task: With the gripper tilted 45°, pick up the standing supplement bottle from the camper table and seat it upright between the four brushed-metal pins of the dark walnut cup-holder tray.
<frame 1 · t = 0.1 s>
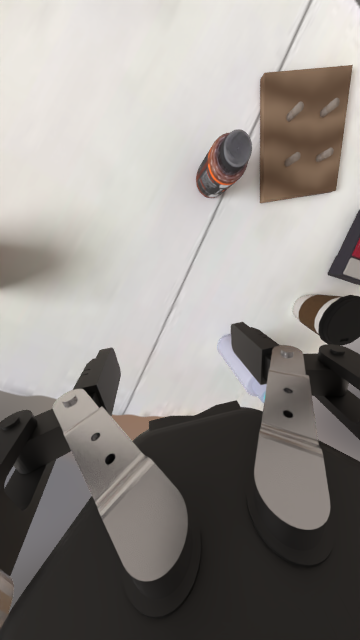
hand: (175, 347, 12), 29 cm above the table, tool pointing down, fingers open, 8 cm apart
spray bottle: (227, 344, 48), on the table
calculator: (357, 249, 45), on the table
coffee cup: (302, 306, 48), on the table
supplement bottle: (210, 181, 35), on the table
pin tray: (299, 142, 34), on the table
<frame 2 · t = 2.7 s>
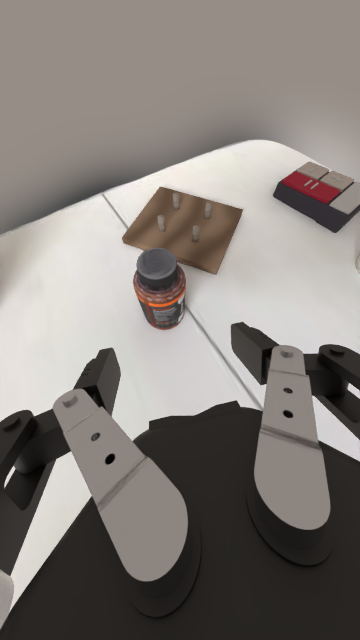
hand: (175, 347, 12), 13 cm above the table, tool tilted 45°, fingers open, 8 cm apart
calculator: (314, 204, 39), on the table
supplement bottle: (164, 313, 28), on the table
pin tray: (185, 228, 35), on the table
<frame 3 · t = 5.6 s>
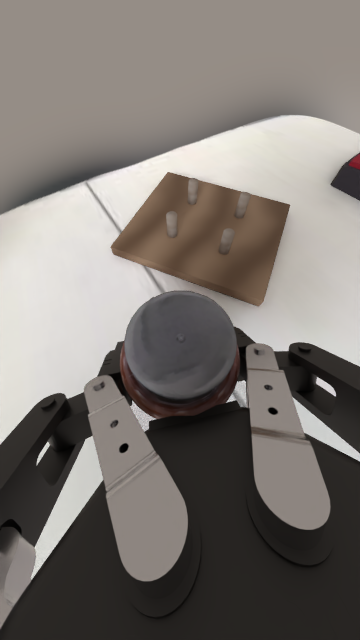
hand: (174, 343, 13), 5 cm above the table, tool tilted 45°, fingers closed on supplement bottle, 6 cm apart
supplement bottle: (179, 376, 17), on the table, touching gripper
pin tray: (205, 232, 24), on the table
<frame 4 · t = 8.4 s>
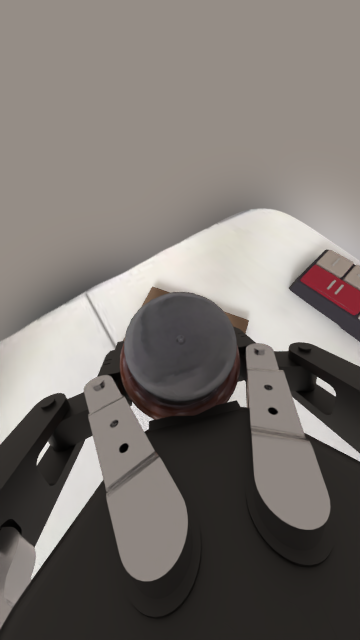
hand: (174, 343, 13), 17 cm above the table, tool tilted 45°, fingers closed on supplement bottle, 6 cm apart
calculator: (335, 298, 35), on the table
supplement bottle: (179, 377, 17), point 12 cm above the table, touching gripper
pin tray: (182, 345, 30), on the table
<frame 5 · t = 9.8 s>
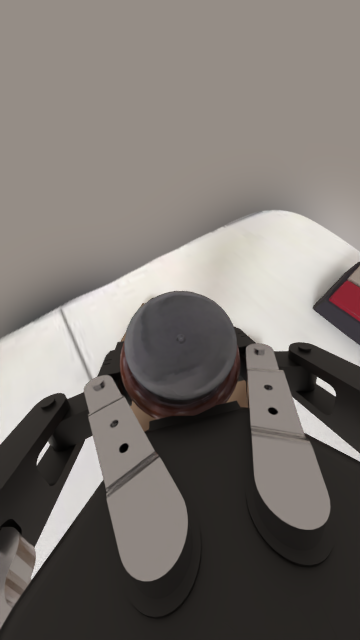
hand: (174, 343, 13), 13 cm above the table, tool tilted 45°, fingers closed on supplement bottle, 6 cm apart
supplement bottle: (179, 376, 17), point 8 cm above the table, touching gripper
pin tray: (176, 381, 24), on the table
when the fingers open (7 cm above the table, at t = 11.2 s): supplement bottle stays where it is, resting on pin tray.
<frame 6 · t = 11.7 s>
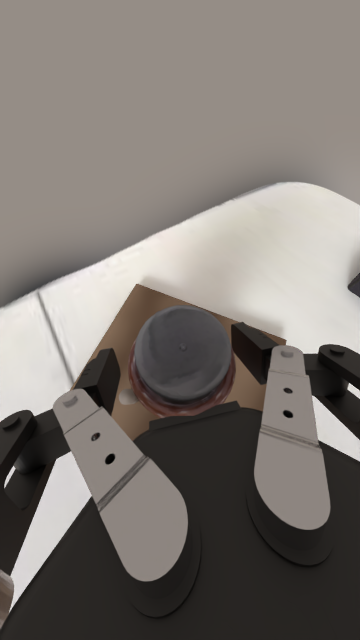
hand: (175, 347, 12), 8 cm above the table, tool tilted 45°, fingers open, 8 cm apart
supplement bottle: (180, 379, 18), point 1 cm above the table, touching pin tray
pin tray: (178, 378, 19), on the table
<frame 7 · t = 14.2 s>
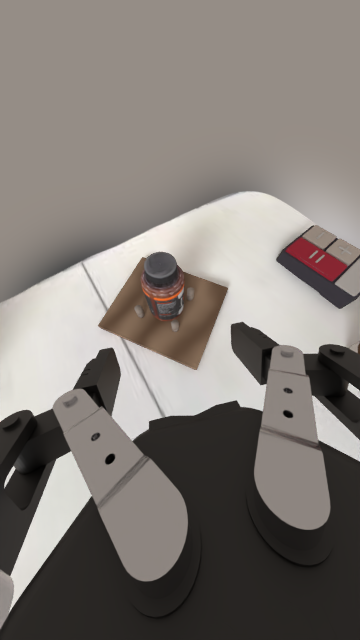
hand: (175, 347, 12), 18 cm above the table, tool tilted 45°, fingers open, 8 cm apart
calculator: (319, 270, 38), on the table
supplement bottle: (166, 307, 32), point 1 cm above the table, touching pin tray
pin tray: (166, 308, 33), on the table
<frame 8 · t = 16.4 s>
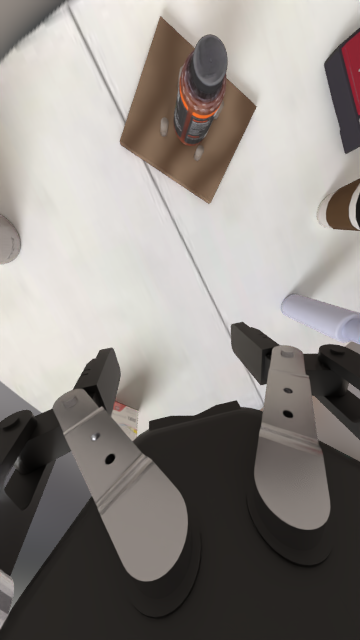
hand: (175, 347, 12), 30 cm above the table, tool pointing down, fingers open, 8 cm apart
ink cartridge box: (121, 410, 52), on the table
spray bottle: (290, 304, 48), on the table
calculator: (357, 93, 34), on the table
coffee cup: (328, 211, 41), on the table
supplement bottle: (189, 125, 31), point 1 cm above the table, touching pin tray
pin tray: (188, 127, 32), on the table
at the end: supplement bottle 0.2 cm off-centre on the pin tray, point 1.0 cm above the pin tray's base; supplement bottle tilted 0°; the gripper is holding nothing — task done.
